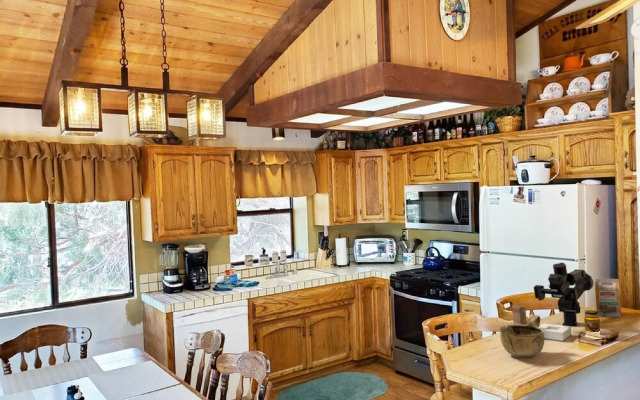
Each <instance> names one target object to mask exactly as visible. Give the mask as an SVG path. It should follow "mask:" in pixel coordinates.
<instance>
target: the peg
mask: <svg viewBox="0 0 640 400" xmlns="http://www.w3.org/2000/svg"><path fill="white" fill-rule="evenodd" d="M512 318H513V322H512V323H513V325H526V324H527V323H528V320H527V307H526V306H525V305H519V304H518V305H512Z"/></svg>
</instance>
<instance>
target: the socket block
mask: <svg viewBox="0 0 640 400" xmlns="http://www.w3.org/2000/svg"><path fill="white" fill-rule="evenodd" d="M539 328H541V329H542V330H543V333H544V340H545V341H546V340H547V341H554V342H561V343H562V342H563V343H564V342H566V340H568V339H569V338H570V337H572V326H567V325H562V324H561V325H559V324H550V323H542V324H540V325H539Z"/></svg>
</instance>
